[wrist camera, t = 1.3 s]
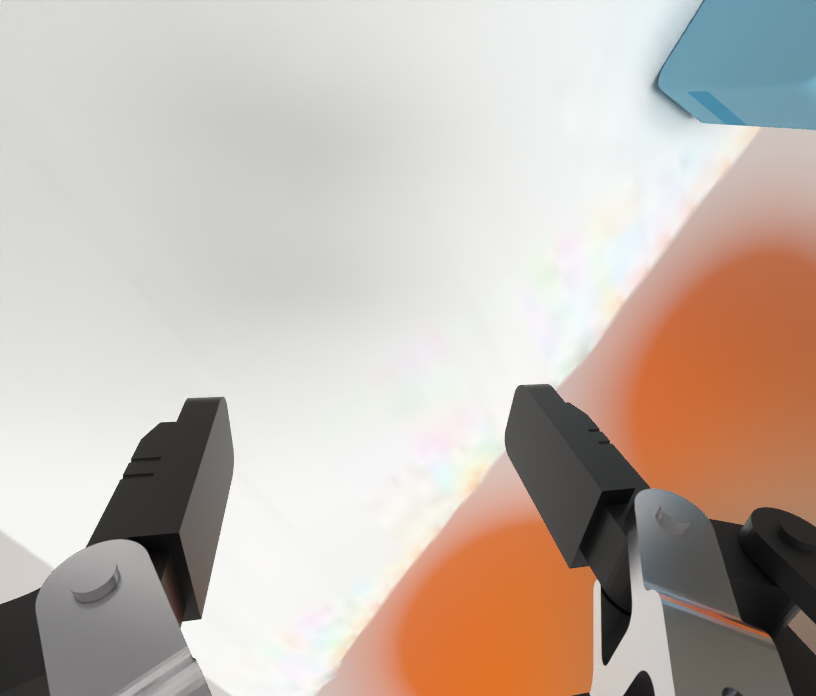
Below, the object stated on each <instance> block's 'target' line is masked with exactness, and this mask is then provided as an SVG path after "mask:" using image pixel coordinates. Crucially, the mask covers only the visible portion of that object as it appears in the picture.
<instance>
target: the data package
mask: <svg viewBox="0 0 816 696" xmlns="http://www.w3.org/2000/svg"><path fill="white" fill-rule="evenodd" d="M658 85H659V88H660V89H661V90H662V91H663V92H664V93H665V94H667V95H668V96H669V97H670V98H672V99H673V100H674V101H675V102H676V103H678V104H679V105H680V106H681V107H683V108H684V109H685V110H686V111H688V112H689V113H690V114H691V115H693V116H694V117H695V118H696V119H698V120H699V121H700V122H702V123H710V124H727V125H743V126H760V127H777V128H793V129H810V130H811V129H812V130H816V0H705V1H704V2H703V4H702V6H701V7H700V9H699V10H698V12H697V14H696V15H695V17H694V18H693V20H692V22H691V23H690V25H689V26H688V28H687V30H686V31H685V33H684V34H683V36H682V37H681V39H680V41H679V42H678V44H677V45H676V47H675V49H674V50H673V52H672V53H671V55H670V57H669V58H668V60H667V61H666V63H665V65H664V66H663V68H662V70H661V73H660V75H659V80H658Z"/></svg>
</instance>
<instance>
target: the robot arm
mask: <svg viewBox="0 0 816 696" xmlns="http://www.w3.org/2000/svg"><path fill="white" fill-rule="evenodd" d="M505 446H506V451H507V454H508V456H509V458H510V460H511V462H512V463H513V465H514V467H515V469H516V471H517V473H518V474H519V476H520V478H521V480H522V482H523V484H524V486H525V487H526V489H527V491H528V493H529V495H530V497H531V499H532V500H533V502H534V504H535V506H536V508H537V509H538V511H539V513H540V515H541V517H542V519H543V521H544V522H545V524H546V526H547V528H548V530H549V531H550V533H551V535H552V537H553V539H554V541H555V543H556V545H557V546H558V548H559V550H560V552H561V554H562V555H563V557H564V559H565V561H566V563H567V565H568V567H569V568H577V567H585V566H590V567H591V569H592V571H593V572H594V574H595V576H596V578H597V579H596V581H595V584H594V669H593V670H594V671H593V681H592V687H591V691H590V694H589V693H584V694H579V695H574V696H816V655H815V654H814V653H813V652H812V651H811V650H810V649H809V648H808V647H807V645H806V644H805V643H804V642H802V640H801V639H800V638H799V637H798V636H797V635H796V634H795V633H794V632H793V631H792V629H791V628H790V627H789V626H788V624H789V623H790V621H791V620H792V619H793V618H794V617H795V616H796V615H797V614H798V612H799V611H800V610H802V611H803V612H804V613H805V614H806V615H807V616H808V617H809V618H810V619H811V620H812V621H813V622H814V623H815V624H816V527H815V526H813V525H812V524H810V523H809V522H807V521H805V520H803V519H802V518H800V517H798V516H796V515H794V514H791V513H789V512H786V511H783V510H780V509H775V508H767V507H764V508H758V509H756V510H754V511H753V513H752V514H751V515H750V517H749V518H748V520H747V521H746V523H745V524H744V525H740V524H734V523H729V522H723V521H718V520H712V519H708V518H707V516H706V515H705V514H704V513H703V512H702V511H701V510H700V509H699V508H698V507H697V506H695V505H694V504H693V503H691V502H690V501H688V500H686V499H685V498H683V497H681V496H679V495H677V494H675V493H672V492H669V491H666V490H661V489H651V488H650V487H649V486H648V485H647V483H645V481H644V480H643V479H642V478H641V476H640V475H639V474H638V473H637V472H636V471H635V469H634V468H633V467H632V466H631V465H630V464H629V463H628V461H627V460H626V459H625V458H624V457H623V456H622V454H621V453H620V452H619V451H618V450H617V449H616V448H615V446H614V445H613V444H610V441H609V440H608V438H607V437H606V436H605V435H604V434H603V433H602V432H600V431H599V428H598V427H597V426H596V424H595V423H594V422H593V421H592V420H591V419H590V417H589V416H588V415H587V414H585V413H584V412H582V411H581V410H580V409H578V408H577V407H575V406H574V405H572V404H571V403H565V402H564V401H563V399H562V398H561V397H560V396H559V395H558V393H557V392H556V391H555V390H554V388H553V387H552V386H551V385H549V384H537V385H520V386H518V387H517V389H516V391H515V394H514V398H513V402H512V406H511V410H510V414H509V418H508V422H507V426H506V431H505ZM233 467H234V452H233V443H232V437H231V430H230V423H229V416H228V409H227V403H226V400H225V398H224V397H209V398H188V399H187V400H186V401H185V403H184V406H183V408H182V410H181V413H180V415H179V417H178V420H177V422H162V423H159V424H158V425H157V426H156V427H155V428H154V429H152V430H151V431H150V432H149V433H148V434H147V435H146V436H145V437H143V438H142V439H141V441H140V443H139V445H138V447H137V449H136V451H135V452H134V454H133V456H132V458H131V463H129V464H128V466H127V468H126V470H125V472H124V474H123V479H121V480H120V482H119V484H118V486H117V488H116V490H115V492H114V494H113V496H112V498H111V499H110V501H109V503H108V505H107V507H106V509H105V511H104V513H103V515H102V517H101V519H100V521H99V523H98V525H97V527H96V529H95V531H94V533H93V535H92V537H91V539H90V541H89V543H88V544H87V546H86V548H85V549H83V550H81V551H79V552H77V553H76V554H74V555H72V556H71V557H69V558H68V559H67V560H65V561H64V562H63V563H62V564H60V565H59V566H58V567H57V568H56V569H55V570H54V571H53V572H52V573H51V574H50V576H49V577H48V578H47V579H46V580H45V582H44V584H43V585H42V587H41V588H39V589H37V590H35V591H34V592H31V593H29V594H27V595H24V596H22V597H19V598H17V599H14V600H11V601H8V602H6V603H3V604H0V696H212V695H211V692H210V690H209V688H208V685H207V683H206V680H205V678H204V676H203V674H202V671H201V669H200V667H199V665H198V663H197V661H196V659H195V658H193V657H192V655H191V653H190V651H189V648H188V646H187V644H186V641H185V639H184V637H183V634H182V632H181V630H180V628H181V624H182V622H183V621H190V620H198V619H201V618H202V613H203V609H204V604H205V599H206V595H207V590H208V586H209V581H210V577H211V572H212V567H213V563H214V558H215V554H216V549H217V545H218V540H219V535H220V531H221V526H222V522H223V517H224V513H225V508H226V503H227V499H228V494H229V490H230V485H231V480H232V476H233Z"/></svg>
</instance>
